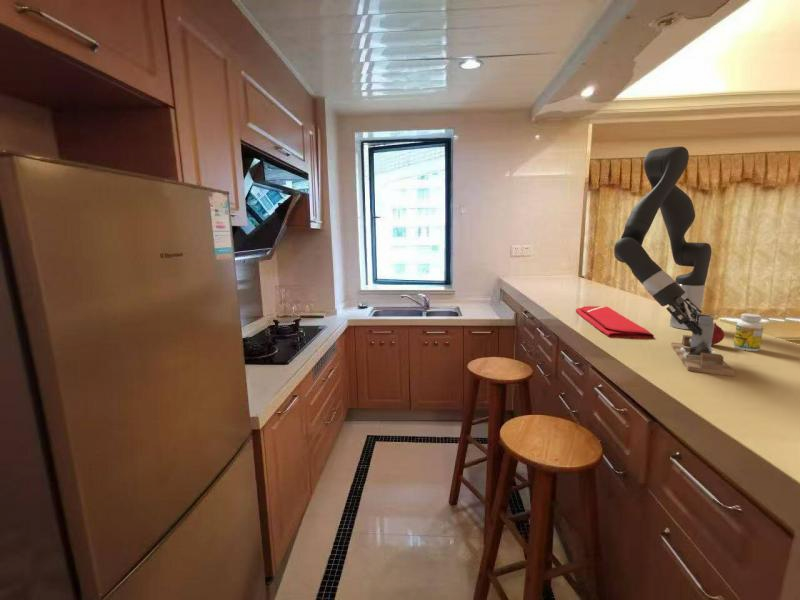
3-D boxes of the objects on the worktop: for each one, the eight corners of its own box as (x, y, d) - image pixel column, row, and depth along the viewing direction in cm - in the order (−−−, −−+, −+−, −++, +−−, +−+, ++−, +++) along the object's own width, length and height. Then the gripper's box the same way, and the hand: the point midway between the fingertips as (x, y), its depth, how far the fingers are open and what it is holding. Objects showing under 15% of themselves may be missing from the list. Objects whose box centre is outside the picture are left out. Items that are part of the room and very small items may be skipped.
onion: (726, 348, 121) (730, 324, 119) (706, 347, 122) (710, 324, 120) (715, 342, 126) (718, 320, 125) (696, 342, 127) (699, 319, 126)
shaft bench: (671, 345, 124) (673, 331, 123) (708, 349, 120) (710, 334, 119) (688, 370, 103) (690, 353, 102) (734, 376, 98) (737, 358, 98)
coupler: (687, 351, 114) (693, 313, 112) (707, 353, 112) (713, 314, 110) (691, 356, 110) (697, 316, 108) (711, 359, 108) (717, 318, 106)
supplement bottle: (765, 351, 117) (771, 317, 115) (746, 352, 117) (751, 317, 115) (746, 345, 123) (751, 312, 121) (727, 345, 123) (733, 313, 121)
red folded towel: (607, 338, 135) (608, 328, 134) (574, 313, 175) (574, 305, 174) (654, 339, 132) (655, 329, 132) (610, 313, 172) (610, 306, 171)
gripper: (666, 283, 109) (709, 328, 103) (681, 278, 118) (722, 319, 111) (644, 298, 114) (684, 341, 108) (660, 292, 123) (698, 332, 117)
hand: (703, 330), depth 110 cm, fingers open, 8 cm apart
